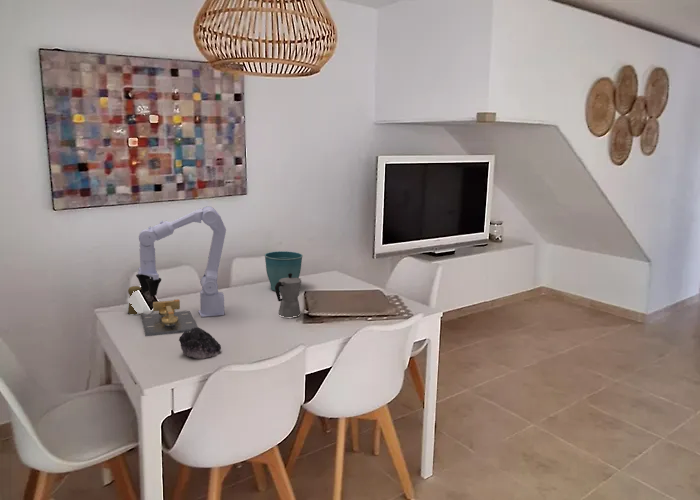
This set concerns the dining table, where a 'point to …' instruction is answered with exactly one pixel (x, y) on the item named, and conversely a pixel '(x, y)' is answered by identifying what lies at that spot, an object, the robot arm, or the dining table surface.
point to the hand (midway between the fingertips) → (149, 293)
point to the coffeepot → (288, 296)
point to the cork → (130, 291)
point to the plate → (155, 326)
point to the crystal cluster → (199, 344)
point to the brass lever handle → (169, 317)
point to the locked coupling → (162, 305)
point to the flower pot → (282, 266)
